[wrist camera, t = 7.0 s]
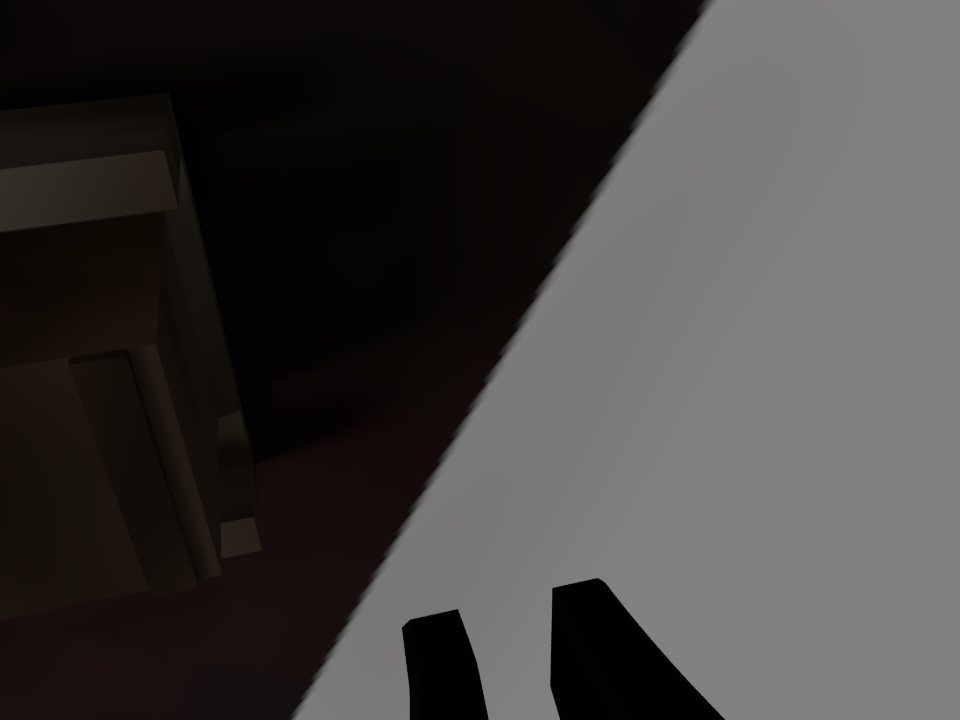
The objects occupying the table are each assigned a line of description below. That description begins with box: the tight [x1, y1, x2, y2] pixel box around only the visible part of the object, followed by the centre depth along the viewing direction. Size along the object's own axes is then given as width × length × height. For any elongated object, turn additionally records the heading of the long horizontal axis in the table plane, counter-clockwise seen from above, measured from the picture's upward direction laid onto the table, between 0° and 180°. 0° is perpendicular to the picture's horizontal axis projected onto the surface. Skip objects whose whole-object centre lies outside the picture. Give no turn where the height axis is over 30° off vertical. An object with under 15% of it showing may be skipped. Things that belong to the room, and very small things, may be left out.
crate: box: [0, 213, 222, 621], centre depth 16 cm, size 6×5×5 cm
